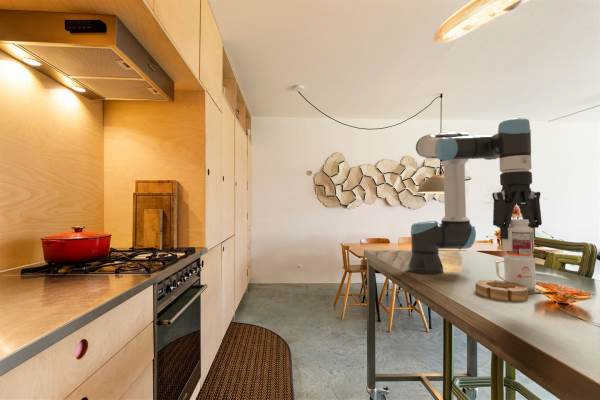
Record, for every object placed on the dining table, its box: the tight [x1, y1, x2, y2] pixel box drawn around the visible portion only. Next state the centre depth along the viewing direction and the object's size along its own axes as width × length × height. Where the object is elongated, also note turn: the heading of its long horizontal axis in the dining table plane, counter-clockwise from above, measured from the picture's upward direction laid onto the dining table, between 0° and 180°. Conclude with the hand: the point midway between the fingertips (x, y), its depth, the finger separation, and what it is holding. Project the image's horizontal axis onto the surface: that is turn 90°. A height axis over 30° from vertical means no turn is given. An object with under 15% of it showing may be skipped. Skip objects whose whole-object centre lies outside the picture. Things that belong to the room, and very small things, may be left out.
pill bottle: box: [506, 218, 534, 259], centre depth 82 cm, size 6×6×11 cm
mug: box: [494, 255, 537, 292], centre depth 103 cm, size 12×9×11 cm
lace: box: [527, 290, 541, 295], centre depth 96 cm, size 1×12×1 cm, turn 96°
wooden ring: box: [474, 279, 528, 302], centre depth 95 cm, size 14×14×3 cm
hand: (518, 249), depth 83 cm, fingers closed on pill bottle, 6 cm apart
